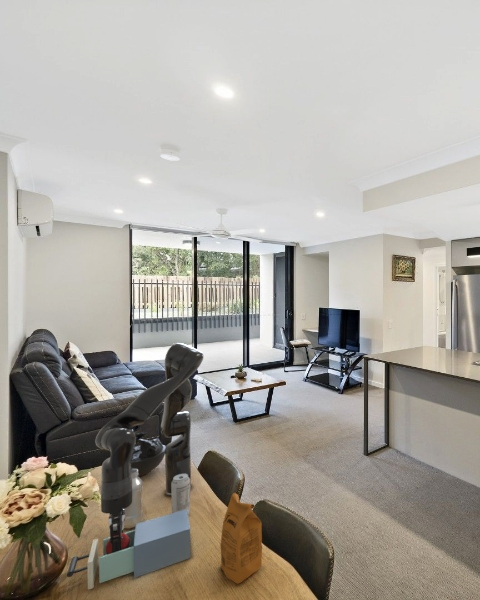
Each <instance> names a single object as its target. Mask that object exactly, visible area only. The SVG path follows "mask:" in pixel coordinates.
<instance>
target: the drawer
mask: <svg viewBox="0 0 480 600" xmlns="http://www.w3.org/2000/svg"><path fill="white" fill-rule="evenodd" d="M124 533H125V534H126V535H127V536H128V537H129V539H130V543H129V547H128V548H127V549H123V550H120V551H117V552H114V553H111V554H108V555H107V553H106V545H107V543H108V541H109V540H110V536H108V537H105V538H103V539H102V556H99V552H100V551H99V538H94V539H93V540H92V544H91V547H90V551H89V553H88V554H85V555H81V556H78V555H77V556H73V557H72V558H71V560H70V563H69V566H68V568H67V569H68V570H67V573H66V577H67V578H71V577H73V576H74V575H75V574H78V573H80V572H83V571H87V591H89V590H91V589H94V587H95V582H96V577H97V573H99V575H98V576H99V579H98V580H99V584H102V583H105V582H107V581H110V580H113V579H116V578H120V577H122V576H125V575H127V574H130V573H131V574H132V573H134V537H135V529H132V530H129V531H125V532H124ZM87 558H88V559H87ZM84 559H87V563H86V565H87V566H83V567H81V568H77V569H76V567H77V565H78V561H82V560H84ZM98 567H99V568H98ZM98 569H99V570H98Z"/></svg>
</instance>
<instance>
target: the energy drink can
mask: <svg viewBox="0 0 480 600" xmlns="http://www.w3.org/2000/svg"><path fill="white" fill-rule="evenodd" d="M171 492H172V496H171V514H172V513H176V512H179V511H182V510H186V509H187V510H188V515H189V514H190V512H191V488H190V478H189V477H188V474H179V475H176V476H175V477H174V478H173V481H172V483H171Z"/></svg>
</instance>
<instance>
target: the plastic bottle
mask: <svg viewBox="0 0 480 600" xmlns="http://www.w3.org/2000/svg"><path fill="white" fill-rule="evenodd" d="M131 478H132V503H131V505H130V506H129V507H127V508H126V514H125V521H124V529H134V528H135V527H136V524H137V523H141V522H144V518H145V517H144V515H145V514H144V510H143V503H142V494H143V485H144V482H143V480H142V479H141V478H140V476H138V469H132V470H131Z"/></svg>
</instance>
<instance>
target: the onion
mask: <svg viewBox="0 0 480 600" xmlns="http://www.w3.org/2000/svg"><path fill="white" fill-rule="evenodd" d="M116 536H119V535H116ZM116 536H113V537H116ZM129 543H130V539H129V537H128V536H127V535H126V534H125V532H123V533H122V539H121V545H122V549H121V550H123V549H127V548H128V547H129ZM106 553H107V555H108V554H111V553H112V544H110V540H109V541H108V543H107V545H106Z"/></svg>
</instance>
